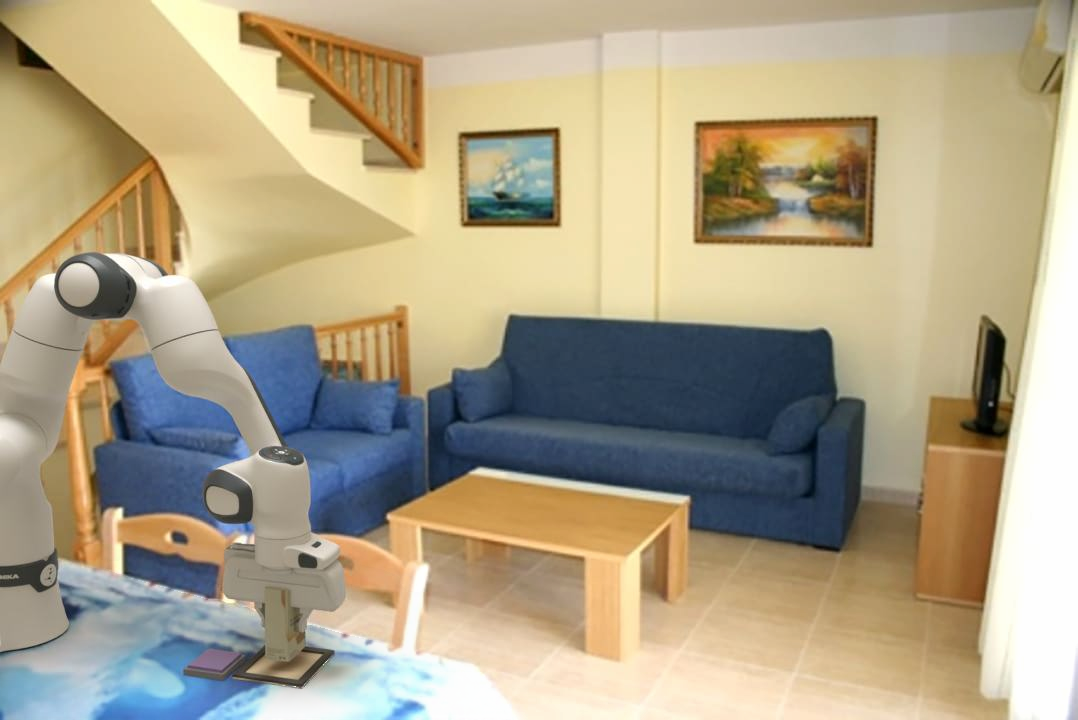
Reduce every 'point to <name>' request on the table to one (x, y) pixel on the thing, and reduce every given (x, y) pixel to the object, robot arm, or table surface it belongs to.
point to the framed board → (284, 667)
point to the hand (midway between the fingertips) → (284, 628)
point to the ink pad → (215, 664)
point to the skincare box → (281, 626)
